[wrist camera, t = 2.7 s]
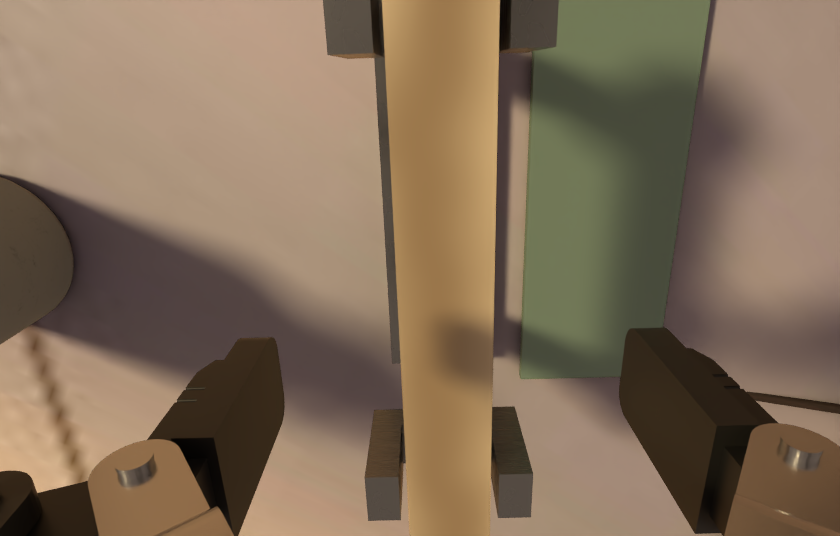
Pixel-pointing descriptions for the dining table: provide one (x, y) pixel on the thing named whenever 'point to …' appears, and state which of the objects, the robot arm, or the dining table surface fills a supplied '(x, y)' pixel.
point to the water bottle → (30, 259)
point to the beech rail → (444, 250)
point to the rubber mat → (605, 178)
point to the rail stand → (364, 38)
